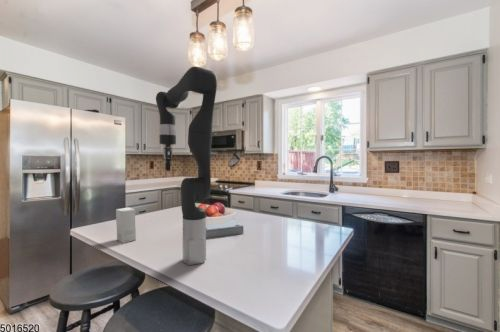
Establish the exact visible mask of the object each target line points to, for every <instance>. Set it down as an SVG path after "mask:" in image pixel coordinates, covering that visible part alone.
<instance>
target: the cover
mask: <svg viewBox="0 0 500 332" xmlns="http://www.w3.org/2000/svg"><path fill="white" fill-rule="evenodd" d="M227 221H228V222H227V223H224V224H214V225H206V231H209V230H218V229H226V228H235V227H243V228H244V225H243V224H242V223H240V222H239V221H238V220H236V219H231V220H227Z"/></svg>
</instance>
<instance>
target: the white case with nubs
mask: <svg viewBox="0 0 500 332" xmlns="http://www.w3.org/2000/svg"><path fill="white" fill-rule="evenodd" d="M240 234H244V226H243V227H235V228H226V229H218V230H209V231H206V239H210V238H217V237H224V236H225V237H226V236H234V235H240Z"/></svg>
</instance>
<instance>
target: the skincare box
mask: <svg viewBox="0 0 500 332" xmlns="http://www.w3.org/2000/svg"><path fill="white" fill-rule="evenodd" d="M115 219H116V240H118V241H119V242H121V243H122V244H125V243H129V242H134V241H136V239H137V234H136V233H137V230H136V228H137V227H136V209H135V208H132V207H130V206H129V207H122V208H116V209H115Z"/></svg>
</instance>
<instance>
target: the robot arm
mask: <svg viewBox="0 0 500 332" xmlns="http://www.w3.org/2000/svg"><path fill="white" fill-rule="evenodd" d="M217 87H218V76H217V73H215V72H214V71H212V70H209V69H206V68H202V67H200V66H192V67H190V68H188V69H187V70H186V72H185V73H184V74H183V76H182V77H181V78H180V80H179V81H177V84H176V85H174V86H172V87H171V88H170V89H169V90H168V91H167V92H166V91H159V92H157V93H156V96H155V101H156V106H157V110H158V115H159V129H158V130H159V145H164V148H163V149H162V151H163V158H164V165H165V166H164V167H165V171H171V163H172V157H173V147H172V146H174V145H176V144H177V129H176V128H177V127H176V115H175V113H173V112H171V111H170V110H168V109H177V108H178V107H179V105H180V104H181V103H182V102H184V101H186V99H187V98H188V97H189V93H190V92H193V93H196V94H201V95H202V101H201V106H200V108H199V110H198V112H197V113H196V114H195V116H194V117H193V119H192V120H191V122H190V124H189V126H188V129H187V131H188V132H187V133H188V134H187V145H188V149H189V150H190V153H191V155H192V156H193V158H194V160H195V163H196V165H197V177H185V178H184V179H182V180H181V182H180V183H181V184H180V202H181V203H180V204H181V205H180V207H181V213H182V262H183V263H184V264H187V265H188V266H192V265H196V264H197V265H198V264H203V263H205V261H206V260H207V238H206V223H207V210H206V209H204V208H201V207H197V206H196V202H195V201H201V200H202V201H203V200H207V199H209V197H210V194H211V187H212V184H211V183H212V180H211V179H212V178H211V156H212V155H211V154H212V153H211V151H212V141H213V122H214V121H213V120H214V111H215V102H216V97H217V96H216V95H217V89H218V88H217Z"/></svg>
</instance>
